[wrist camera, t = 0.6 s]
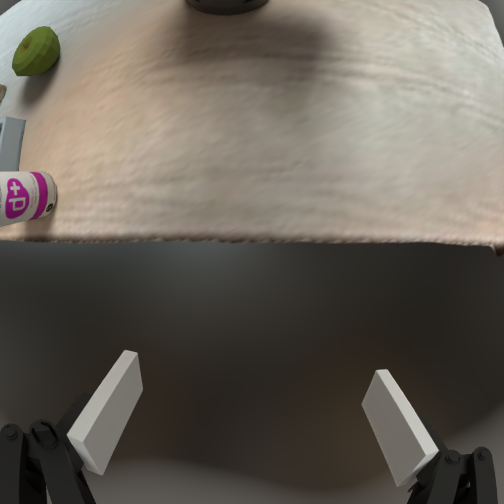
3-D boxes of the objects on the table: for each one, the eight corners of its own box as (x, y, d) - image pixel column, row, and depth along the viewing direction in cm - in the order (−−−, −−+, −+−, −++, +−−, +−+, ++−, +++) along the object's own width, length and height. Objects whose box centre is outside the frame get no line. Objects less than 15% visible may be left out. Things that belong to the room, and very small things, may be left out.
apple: (49, 38, 30) (24, 23, 20) (79, 37, 30) (52, 18, 21) (26, 82, 32) (-3, 72, 22) (53, 85, 33) (21, 72, 23)
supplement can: (61, 173, 37) (0, 173, 22) (56, 220, 38) (-4, 234, 24) (34, 170, 36) (-24, 171, 22) (29, 213, 38) (-27, 225, 23)
